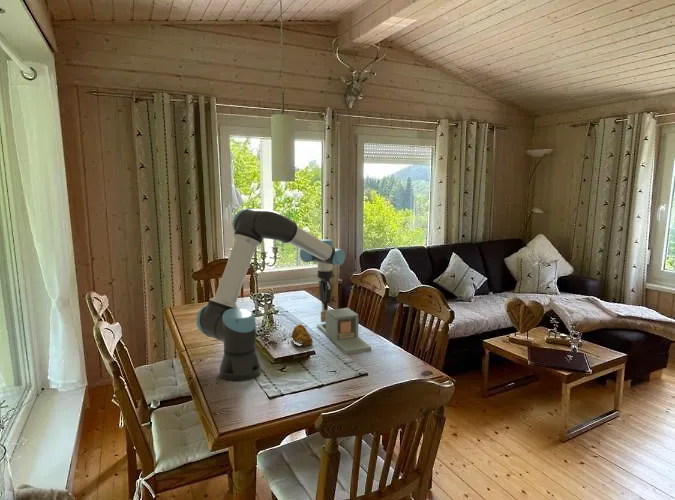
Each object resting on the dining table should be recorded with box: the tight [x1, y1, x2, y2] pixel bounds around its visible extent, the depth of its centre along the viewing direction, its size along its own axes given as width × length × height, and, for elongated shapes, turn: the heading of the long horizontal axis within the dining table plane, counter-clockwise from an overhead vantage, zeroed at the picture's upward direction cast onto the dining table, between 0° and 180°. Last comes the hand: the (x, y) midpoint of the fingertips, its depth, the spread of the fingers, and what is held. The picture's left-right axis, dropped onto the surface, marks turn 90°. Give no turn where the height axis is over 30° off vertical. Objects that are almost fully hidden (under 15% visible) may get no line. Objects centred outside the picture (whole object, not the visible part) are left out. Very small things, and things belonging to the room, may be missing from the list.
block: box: [338, 318, 351, 334], centre depth 195 cm, size 6×5×6 cm
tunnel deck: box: [316, 307, 372, 355], centre depth 196 cm, size 36×12×12 cm, turn 22°
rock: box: [290, 323, 314, 347], centre depth 190 cm, size 11×8×10 cm
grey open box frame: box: [320, 310, 354, 339], centre depth 204 cm, size 26×8×5 cm, turn 22°
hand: (324, 315), depth 217 cm, fingers closed
